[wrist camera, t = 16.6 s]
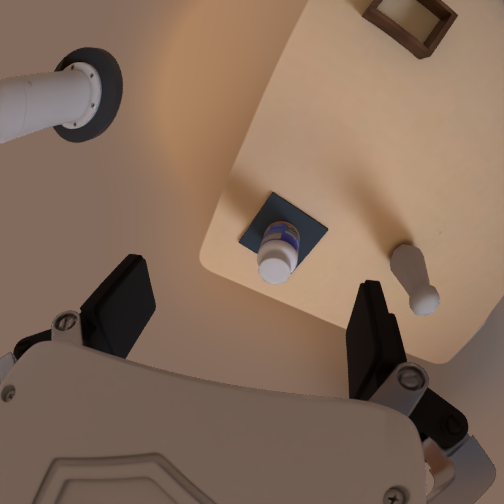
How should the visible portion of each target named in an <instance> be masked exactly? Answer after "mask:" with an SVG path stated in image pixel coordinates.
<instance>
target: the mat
mask: <svg viewBox="0 0 504 504" xmlns="http://www.w3.org/2000/svg"><path fill="white" fill-rule="evenodd" d="M279 221H284V222H288V223H290V224H292V225H293V226H294V227H295V228H296V229H297V231H298V233H299V238H300V240H299V250H298V260H297V265H296V268H297V266H298V265H299V264H300V263H301V262H302V261H303V259H304V258H305V257H306V256H307V255H308V254H309V252H310V251H311V250H312V249H313V248H314V247H315V245H316V244H317V243H318V242H319V241H320V239H321V238H322V237H323V236H324V235H325V233H326V232H327V231H328V229H327V228H326V227H325V226H323V225H322V224H320V223H319V222H317V221H316V220H314V219H313V218H311V217H310V216H308V215H307V214H305V213H304V212H302V211H301V210H299V209H298V208H296V207H295V206H293V205H292V204H290V203H289V202H287V201H286V200H284V199H283V198H281V197H279V196H278V195H276V194H275V193H273V192H272V194H271V195H270V197H269V198H268V200H267V201H266V202H265V204H264V205H263V207H262V208H261V210H260V211H259V213H258V214H257V216H256V217H255V219H254V220H253V222H252V223H251V225H250V226H249V228H248V229H247V230H246V232H245V233H244V235H243V236H242V238H241V239H240V241H239V243H240V244H242V245H243V246H245V247H247V248H248V249H250V250H252V251H253V252H255V253H257V254H258V251H259V248H260V245H261V243H262V240H263V237H264V234H265V231H266V229H267V228H268V226H270V225H271V224H272V223H275V222H279ZM296 268H295V269H296ZM295 269H294V270H295ZM290 274H291V273H290Z"/></svg>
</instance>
